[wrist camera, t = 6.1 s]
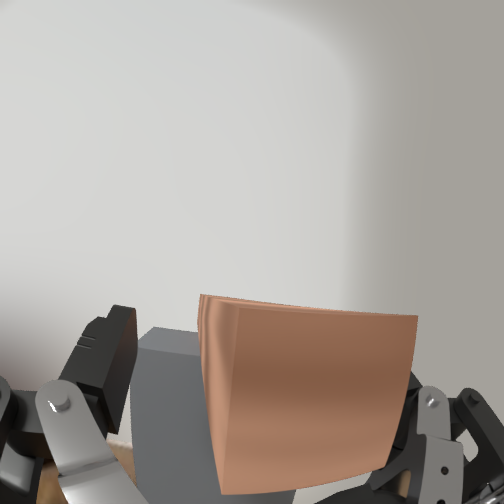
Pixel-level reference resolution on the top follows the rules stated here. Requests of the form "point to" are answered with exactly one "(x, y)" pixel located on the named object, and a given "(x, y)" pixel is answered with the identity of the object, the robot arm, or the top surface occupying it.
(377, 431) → the batten
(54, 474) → the top surface
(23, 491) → the robot arm
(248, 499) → the pedestal
